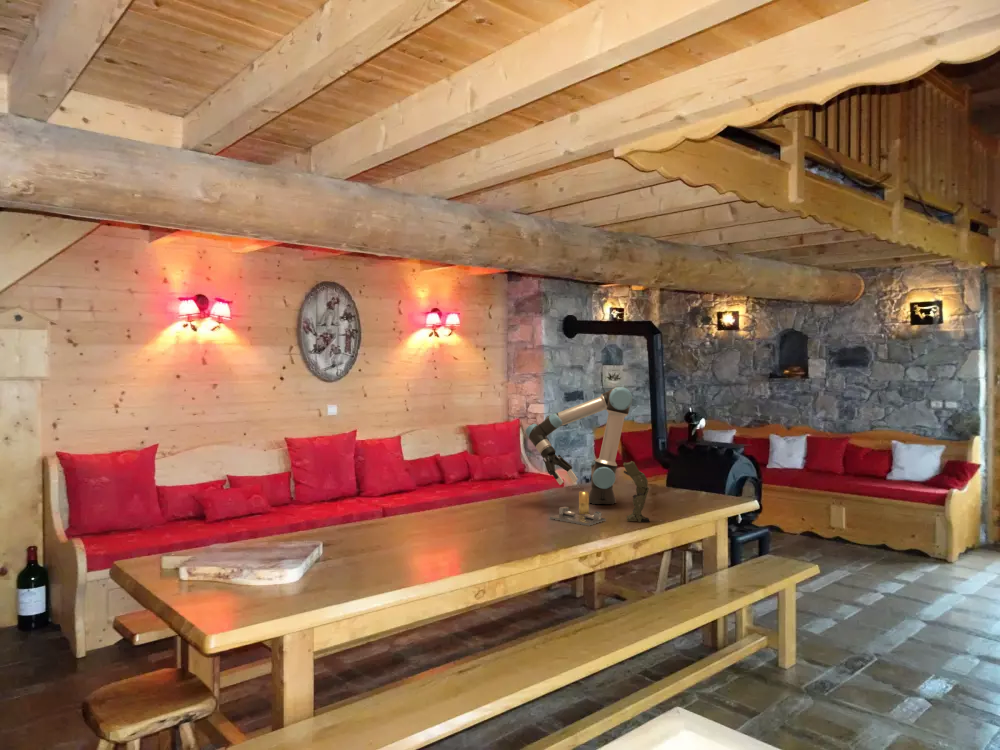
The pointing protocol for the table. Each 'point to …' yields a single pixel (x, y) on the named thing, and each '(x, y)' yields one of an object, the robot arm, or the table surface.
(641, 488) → the mechanical leg
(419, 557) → the table surface
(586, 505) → the orange glossy cylinder
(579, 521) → the bed plate
